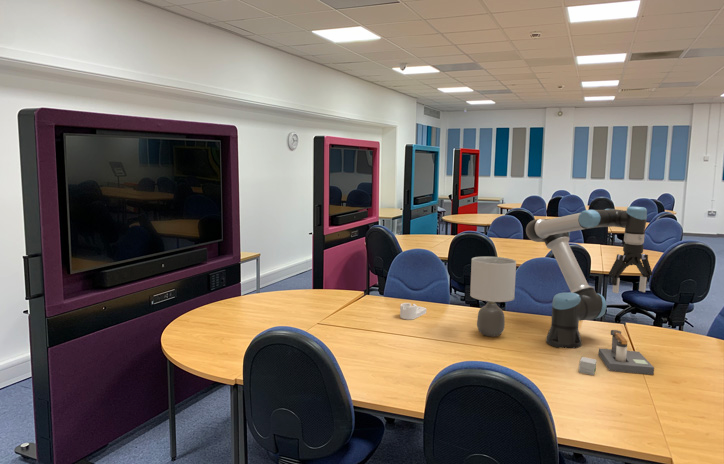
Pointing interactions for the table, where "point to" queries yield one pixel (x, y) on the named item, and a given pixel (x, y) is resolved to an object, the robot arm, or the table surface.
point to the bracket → (411, 311)
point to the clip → (619, 336)
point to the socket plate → (632, 364)
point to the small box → (587, 366)
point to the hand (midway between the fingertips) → (628, 292)
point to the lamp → (492, 290)
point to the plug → (621, 352)
